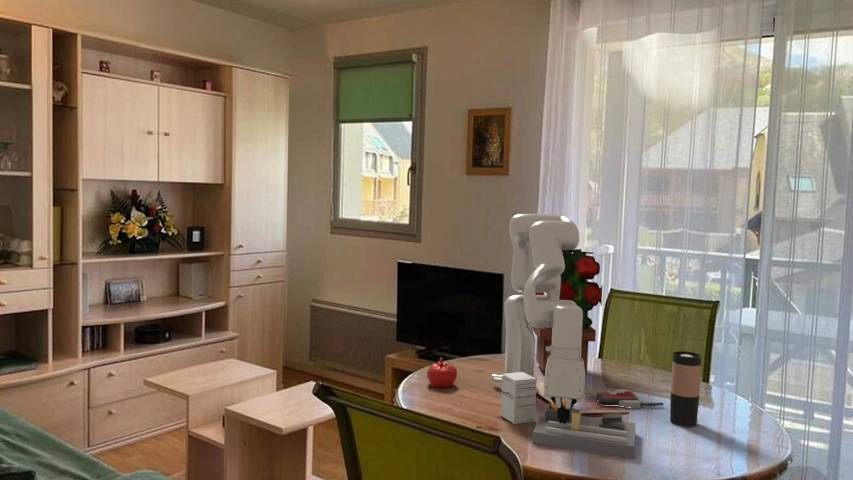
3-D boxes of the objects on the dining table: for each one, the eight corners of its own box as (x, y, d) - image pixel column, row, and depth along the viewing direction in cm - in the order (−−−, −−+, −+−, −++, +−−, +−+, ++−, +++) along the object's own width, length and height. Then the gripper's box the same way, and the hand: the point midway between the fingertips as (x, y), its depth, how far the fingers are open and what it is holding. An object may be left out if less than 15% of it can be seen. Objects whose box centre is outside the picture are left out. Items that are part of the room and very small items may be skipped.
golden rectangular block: (571, 431, 165) (572, 412, 165) (572, 427, 168) (573, 409, 168) (579, 432, 165) (580, 413, 164) (580, 428, 168) (581, 410, 167)
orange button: (550, 412, 175) (550, 401, 175) (552, 407, 180) (552, 397, 179) (566, 414, 174) (567, 403, 174) (568, 409, 178) (568, 399, 178)
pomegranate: (456, 390, 211) (458, 363, 210) (426, 389, 211) (427, 361, 210) (456, 381, 220) (457, 354, 220) (427, 380, 221) (428, 353, 220)
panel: (532, 443, 166) (533, 420, 165) (542, 421, 183) (543, 400, 183) (633, 458, 158) (635, 434, 158) (635, 433, 175) (636, 412, 175)
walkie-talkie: (601, 409, 196) (664, 409, 198) (602, 395, 195) (665, 395, 197) (591, 400, 204) (652, 400, 206) (592, 387, 204) (652, 387, 206)
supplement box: (499, 416, 186) (501, 373, 185) (521, 413, 189) (523, 371, 188) (513, 424, 179) (514, 380, 179) (535, 421, 182) (537, 378, 181)
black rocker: (602, 422, 171) (601, 418, 171) (603, 418, 175) (602, 414, 175) (621, 422, 170) (621, 417, 170) (622, 417, 173) (621, 413, 173)
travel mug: (664, 418, 188) (668, 350, 187) (689, 418, 189) (693, 351, 188) (676, 427, 181) (680, 357, 180) (702, 427, 181) (706, 357, 180)
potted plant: (598, 380, 226) (604, 253, 223) (535, 378, 227) (540, 251, 224) (583, 364, 248) (588, 248, 245) (526, 362, 249) (530, 246, 246)
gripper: (534, 352, 165) (531, 422, 166) (594, 359, 160) (591, 431, 162) (539, 346, 172) (536, 413, 174) (597, 352, 167) (593, 421, 169)
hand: (563, 422), depth 168 cm, fingers closed
